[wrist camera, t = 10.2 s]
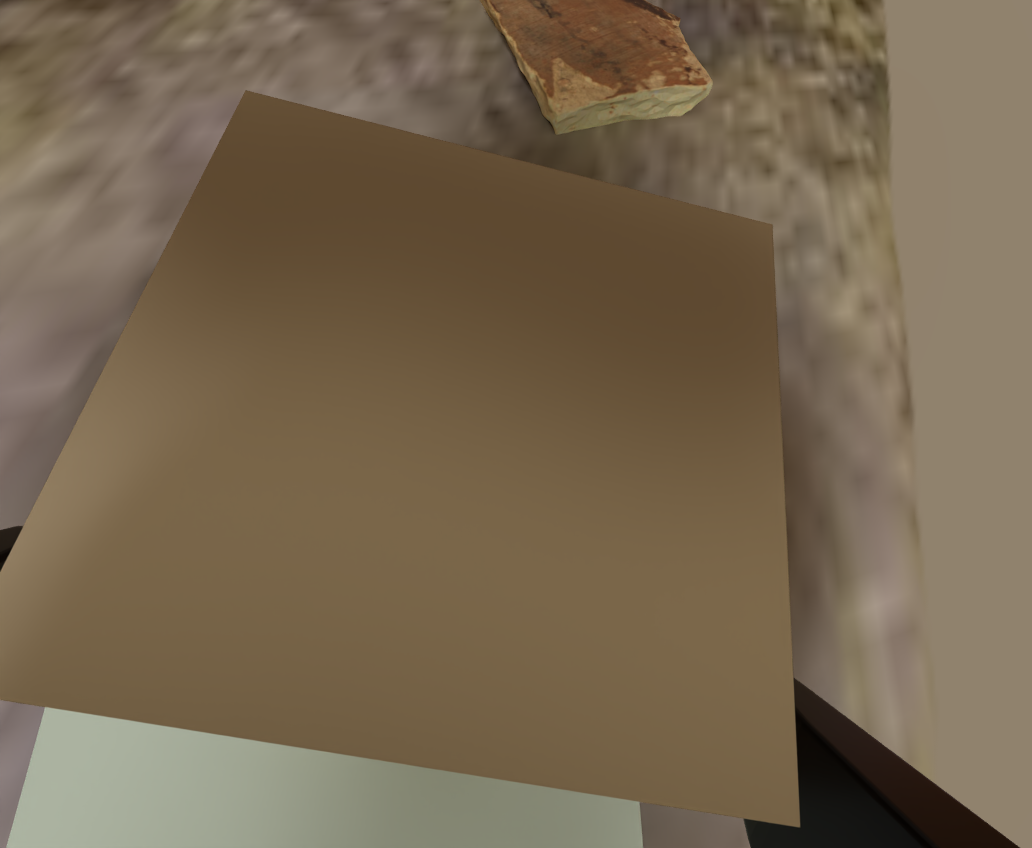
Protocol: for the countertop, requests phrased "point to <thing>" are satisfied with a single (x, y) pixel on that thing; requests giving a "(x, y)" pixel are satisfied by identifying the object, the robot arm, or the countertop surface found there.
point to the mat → (280, 797)
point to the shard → (601, 59)
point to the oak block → (432, 478)
